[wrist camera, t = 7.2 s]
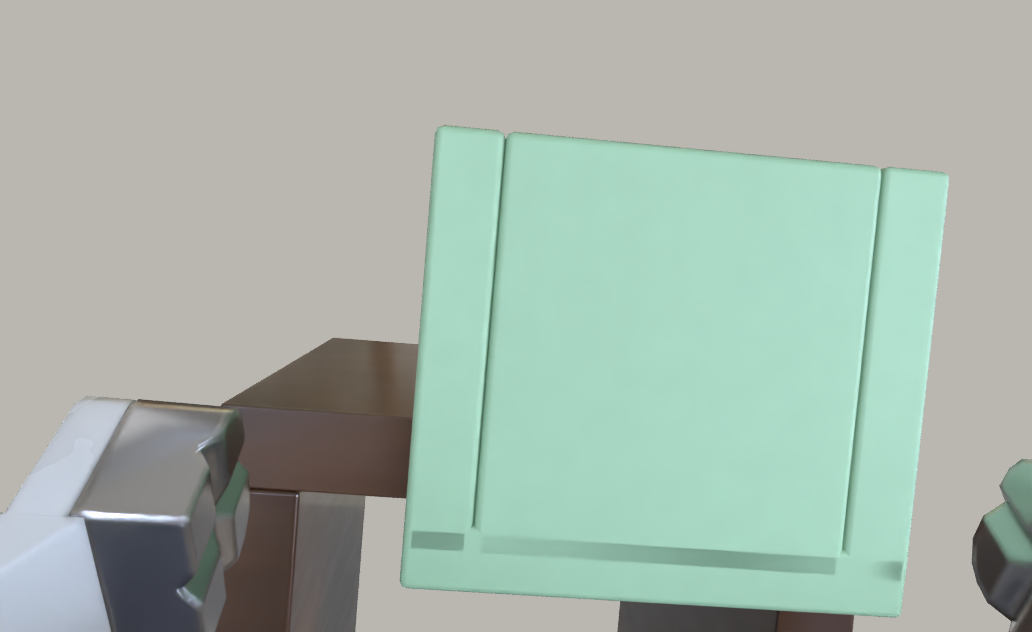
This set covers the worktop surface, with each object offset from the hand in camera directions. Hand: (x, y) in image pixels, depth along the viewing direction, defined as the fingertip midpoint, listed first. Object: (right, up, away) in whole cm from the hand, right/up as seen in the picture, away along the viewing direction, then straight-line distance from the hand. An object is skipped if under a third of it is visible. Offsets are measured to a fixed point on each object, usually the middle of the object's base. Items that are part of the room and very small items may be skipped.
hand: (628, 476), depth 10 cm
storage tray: (-1, 0, +9) cm, 9 cm away
